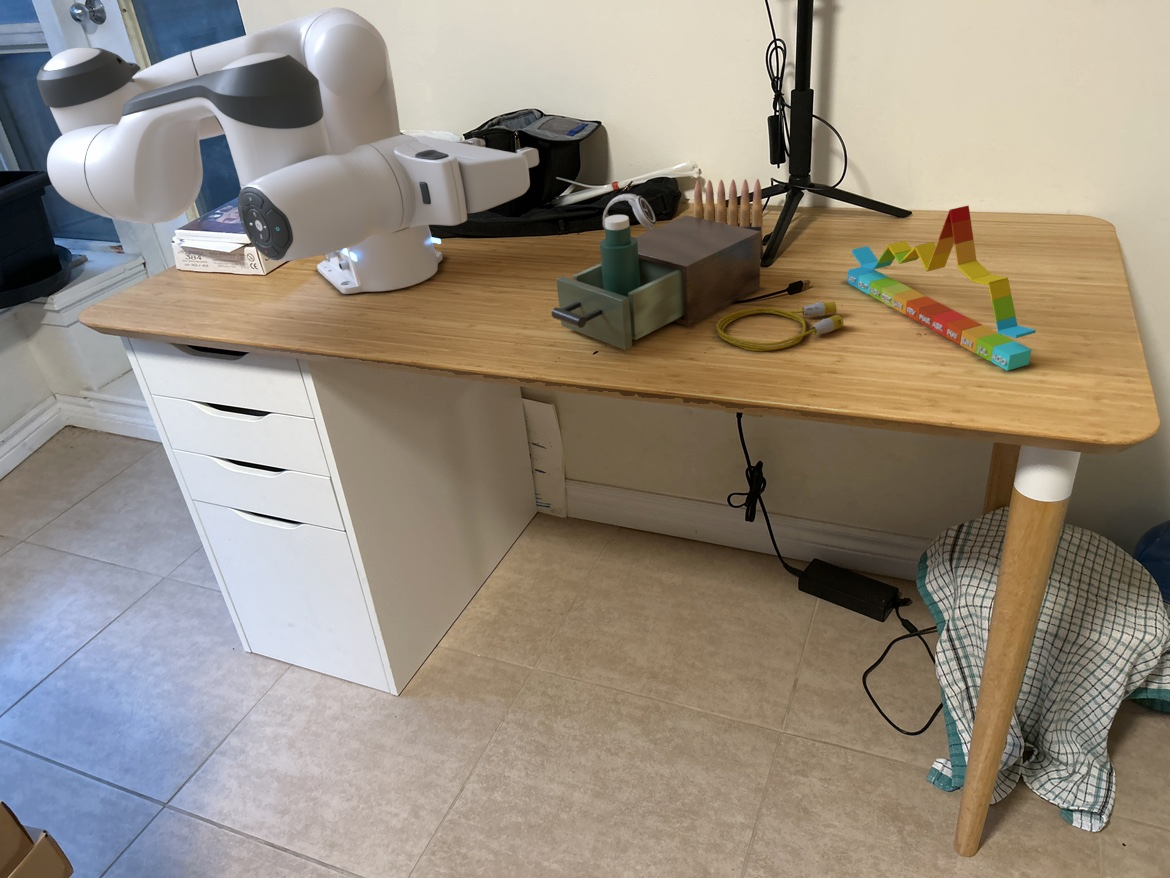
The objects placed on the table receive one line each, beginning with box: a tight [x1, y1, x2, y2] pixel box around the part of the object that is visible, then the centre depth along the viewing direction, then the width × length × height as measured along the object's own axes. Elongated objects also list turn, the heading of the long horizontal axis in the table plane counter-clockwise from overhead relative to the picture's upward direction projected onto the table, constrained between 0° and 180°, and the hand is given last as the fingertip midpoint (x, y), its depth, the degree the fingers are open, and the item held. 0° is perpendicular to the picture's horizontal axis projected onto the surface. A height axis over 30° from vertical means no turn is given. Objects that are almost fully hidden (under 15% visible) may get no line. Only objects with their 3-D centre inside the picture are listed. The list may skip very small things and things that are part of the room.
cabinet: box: [634, 215, 761, 327], centre depth 118 cm, size 15×13×8 cm
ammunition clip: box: [692, 178, 764, 260], centre depth 129 cm, size 11×2×12 cm, turn 75°
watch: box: [602, 193, 657, 232], centre depth 130 cm, size 6×8×11 cm
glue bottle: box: [599, 214, 640, 297], centre depth 109 cm, size 5×5×13 cm
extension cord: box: [715, 301, 845, 352], centre depth 108 cm, size 12×16×2 cm
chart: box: [846, 205, 1037, 371], centre depth 103 cm, size 30×3×15 cm, turn 20°
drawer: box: [551, 258, 684, 351], centre depth 111 cm, size 19×12×7 cm, turn 133°
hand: (507, 150), depth 95 cm, fingers open, 8 cm apart
